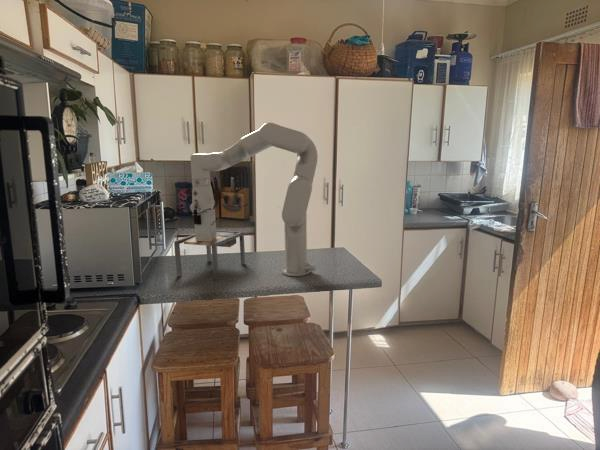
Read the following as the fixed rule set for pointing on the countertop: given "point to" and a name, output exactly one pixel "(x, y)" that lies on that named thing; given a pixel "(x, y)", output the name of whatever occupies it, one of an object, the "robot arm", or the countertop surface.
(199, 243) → the trapdoor
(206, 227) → the supplement box
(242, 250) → the frame
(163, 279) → the countertop surface
